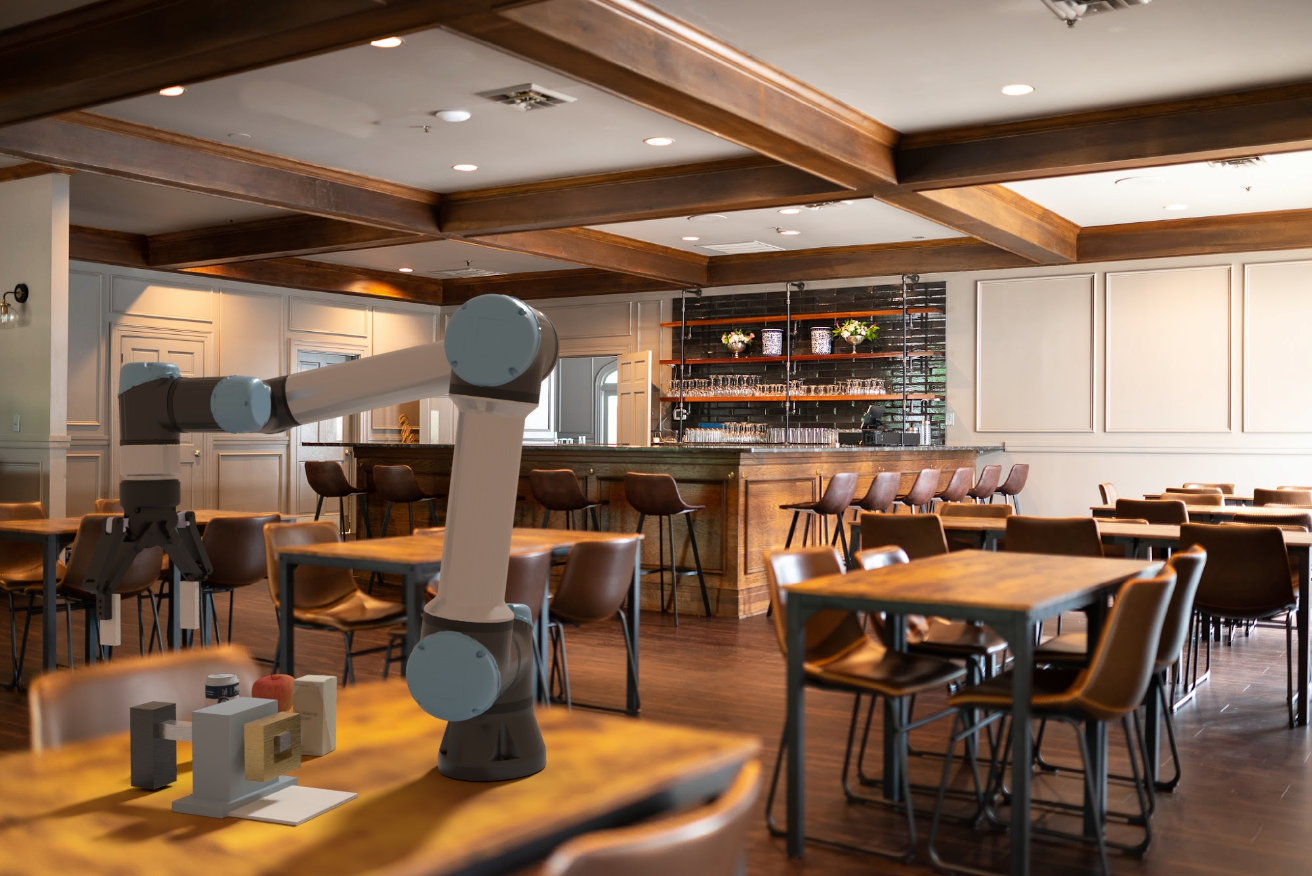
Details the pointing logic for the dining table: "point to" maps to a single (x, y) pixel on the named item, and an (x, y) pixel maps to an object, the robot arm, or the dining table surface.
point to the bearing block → (226, 759)
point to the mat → (293, 805)
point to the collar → (271, 746)
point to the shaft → (163, 743)
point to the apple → (275, 690)
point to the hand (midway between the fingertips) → (151, 636)
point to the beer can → (221, 688)
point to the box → (316, 713)
